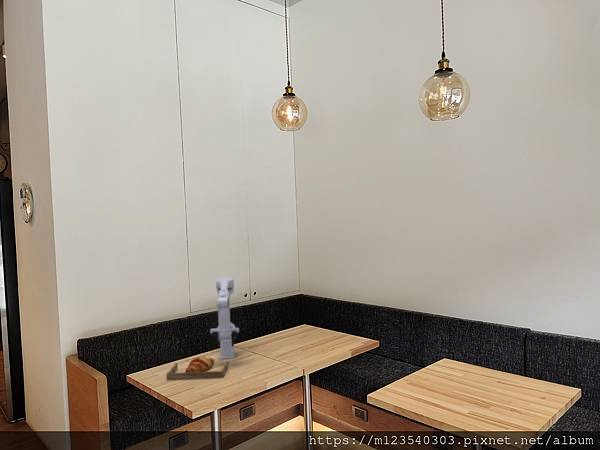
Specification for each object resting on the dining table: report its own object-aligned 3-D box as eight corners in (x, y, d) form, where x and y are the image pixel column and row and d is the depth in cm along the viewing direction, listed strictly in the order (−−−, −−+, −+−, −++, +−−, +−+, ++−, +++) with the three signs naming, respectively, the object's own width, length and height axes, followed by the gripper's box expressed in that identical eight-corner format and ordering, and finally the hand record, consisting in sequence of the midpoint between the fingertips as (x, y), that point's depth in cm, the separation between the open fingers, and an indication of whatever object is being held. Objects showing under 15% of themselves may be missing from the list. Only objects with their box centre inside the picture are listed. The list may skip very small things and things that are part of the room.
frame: (176, 369, 227) (175, 363, 227) (228, 366, 227) (228, 361, 227) (166, 380, 212) (166, 374, 212) (222, 377, 212) (222, 371, 212)
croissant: (209, 369, 236) (203, 355, 238) (223, 361, 232) (216, 347, 234) (182, 382, 217) (176, 366, 219) (197, 374, 213) (190, 359, 215)
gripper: (208, 322, 226) (209, 349, 226) (237, 321, 226) (238, 347, 226) (211, 319, 233) (212, 345, 233) (239, 318, 233) (240, 344, 233)
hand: (225, 346), depth 230 cm, fingers open, 7 cm apart
